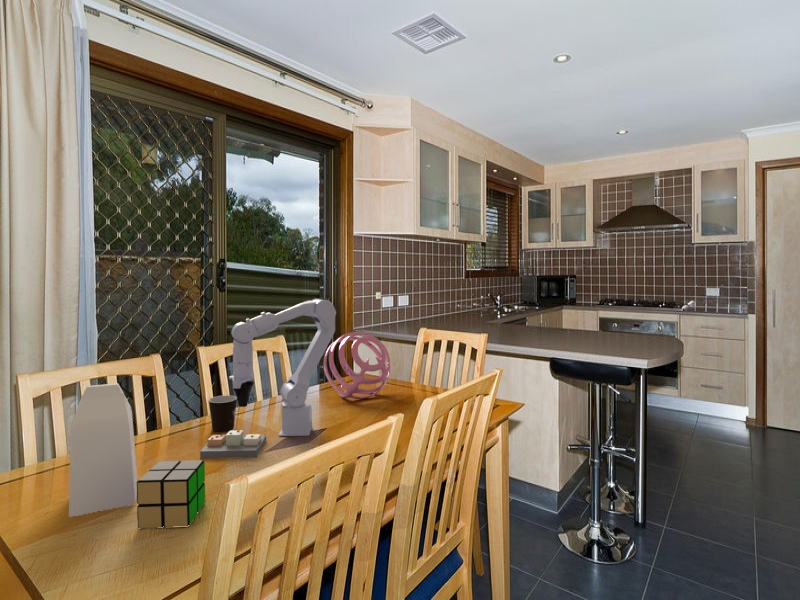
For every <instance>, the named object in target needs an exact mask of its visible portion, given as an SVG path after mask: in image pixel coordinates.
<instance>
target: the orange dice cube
mask: <svg viewBox="0 0 800 600" xmlns="http://www.w3.org/2000/svg"><path fill="white" fill-rule="evenodd" d="M207 443H208V446H223V445H224V444H225V443H226V434H212V435H211V436H210V437H209V438H207Z"/></svg>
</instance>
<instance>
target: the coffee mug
mask: <svg viewBox="0 0 800 600" xmlns="http://www.w3.org/2000/svg"><path fill="white" fill-rule="evenodd" d="M237 403H238V400H237V396H235V395H218V396H212V397H210V398H209V399H208V406H209V407H208V408H209V414H210V419H211V428H212V432H214V433H217V432H219V433H228V432H229V431H230V430H232V429H233V428H234V427H235V419H236V410H237V409H236V408H237ZM233 430H234V429H233Z"/></svg>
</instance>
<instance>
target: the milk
mask: <svg viewBox="0 0 800 600" xmlns="http://www.w3.org/2000/svg"><path fill="white" fill-rule="evenodd" d="M69 441H70V445H69V447H70V449H69V450H70V451H69V485H68V486H69V492H68V493H69V494H68V495H69V496H68V518H69V517H70V518H74V517H73V516H75V517H79V515H80V516H84V515H83V514H85V515H88V513H90V514H93V513H92V512H95V513H98V512H97V511H101V512H104V511H103V510H106V511H108V510H107V509H111V510H113V509H112V508H116V509H118V508H117V507H121V508H123V507H122V506H126V507H129V506H128V505H131V506H134V505H133V504H135V505H136V503H137V481H138V470H137V458H136V446H135V445H136V443H135V432H134V422H133V411H132V406H131V404H130V403H129V400H128V399H127V397H126V395H125V393H124V391H123V389H122V388H121V386H120V383H118V382H117V383H107V384H104V383H103V384H95V385H93V384H92V385H87V386H86V387H85V389H84V392H83V393H82V395H81V398H80V399H79V402H78V406H77V408H76V412H75V414H74V417H73V420H72V423H71V428H70V440H69ZM135 502H136V503H135Z"/></svg>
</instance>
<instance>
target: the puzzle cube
mask: <svg viewBox="0 0 800 600" xmlns="http://www.w3.org/2000/svg"><path fill="white" fill-rule="evenodd" d="M205 462H206V461H205V460H203V459H199V460H197V459H194V460H192V459H191V460H182V461H181V460H159V461H158V462H156V463H155V464H154V465H153V466H152V467H151V468H150V469H149V470H148V471H147V472H146V473H145V474H143V476H141V477H140V478H139V479H137V494H136V503H137V506H136V507H137V508H136V510H137V515H136V516H137V529H139V528H155V529H159V528H158V527H163V526H164V527H163V528H165V527H173V526H188V525H190V523H191V522H192V520H193V519H194V518H195V519H196V517H197V516H198V514H197V512H199V513H200V511H201V510H202V508H203V507H204V505H205V504H204V503H206V483H205V481H206V472H205V471H206V469H205V468H206V467H205V466H206V465H205ZM203 504H204V505H203ZM202 506H203V507H202ZM201 507H202V508H201ZM200 509H201V510H200ZM199 510H200V511H199ZM196 515H197V516H196ZM195 516H196V517H195ZM195 519H194V520H195ZM194 520H193V521H194ZM192 523H193V522H192ZM192 523H191V524H192ZM190 526H191V525H190Z"/></svg>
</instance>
